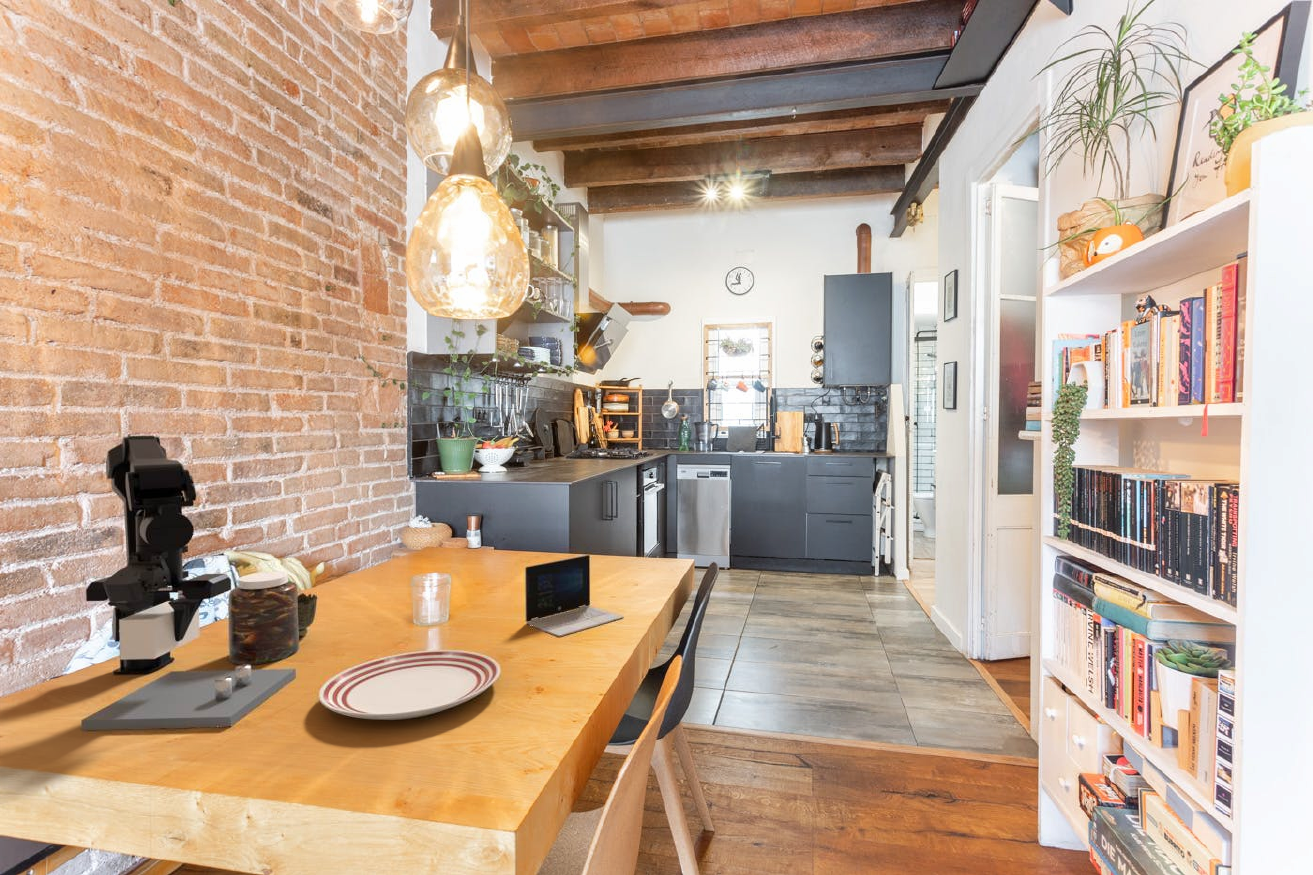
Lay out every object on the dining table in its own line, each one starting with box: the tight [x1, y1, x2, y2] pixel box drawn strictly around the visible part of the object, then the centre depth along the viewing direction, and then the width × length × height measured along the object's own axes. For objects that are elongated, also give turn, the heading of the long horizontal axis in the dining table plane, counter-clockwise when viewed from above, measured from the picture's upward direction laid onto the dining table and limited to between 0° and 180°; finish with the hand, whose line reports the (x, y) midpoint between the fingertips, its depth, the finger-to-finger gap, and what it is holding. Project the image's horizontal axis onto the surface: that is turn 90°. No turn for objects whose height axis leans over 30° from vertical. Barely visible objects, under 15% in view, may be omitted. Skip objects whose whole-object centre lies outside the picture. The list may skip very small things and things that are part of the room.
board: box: [80, 668, 297, 731], centre depth 101 cm, size 21×18×2 cm
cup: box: [298, 592, 318, 638], centre depth 132 cm, size 8×7×8 cm
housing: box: [119, 601, 201, 661], centre depth 101 cm, size 5×10×6 cm, turn 2°
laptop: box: [524, 554, 624, 637], centre depth 141 cm, size 18×12×13 cm
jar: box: [227, 570, 300, 666], centre depth 122 cm, size 12×12×15 cm
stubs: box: [215, 664, 252, 701], centre depth 101 cm, size 2×7×3 cm, turn 2°
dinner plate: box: [318, 649, 501, 721], centre depth 103 cm, size 28×27×3 cm
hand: (161, 640), depth 101 cm, fingers closed on housing, 5 cm apart
